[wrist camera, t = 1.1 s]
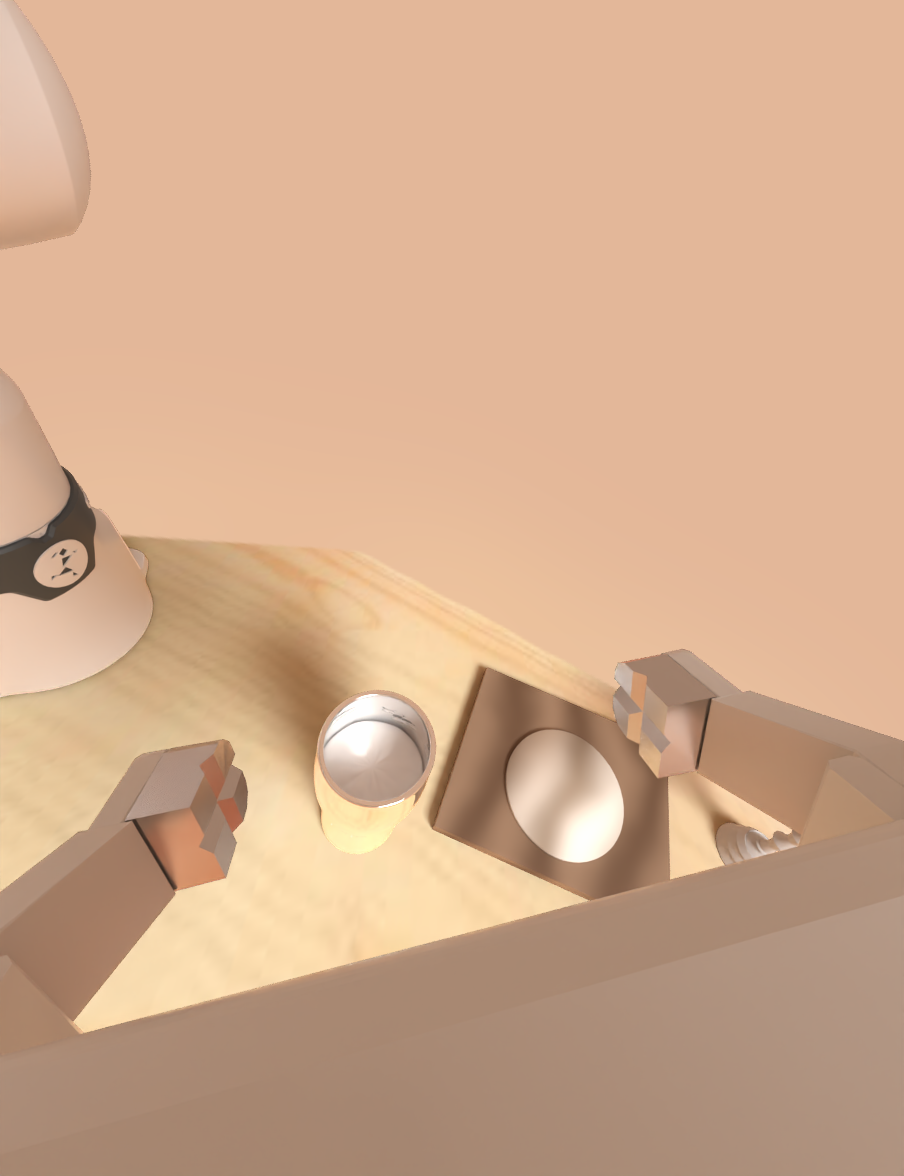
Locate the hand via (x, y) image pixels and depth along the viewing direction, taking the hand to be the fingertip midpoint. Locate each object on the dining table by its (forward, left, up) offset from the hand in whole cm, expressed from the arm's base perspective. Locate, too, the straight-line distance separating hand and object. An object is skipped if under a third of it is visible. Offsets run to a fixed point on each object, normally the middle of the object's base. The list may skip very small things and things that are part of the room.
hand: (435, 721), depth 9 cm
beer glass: (-2, +5, -31) cm, 31 cm away
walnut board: (+14, +14, -30) cm, 36 cm away
